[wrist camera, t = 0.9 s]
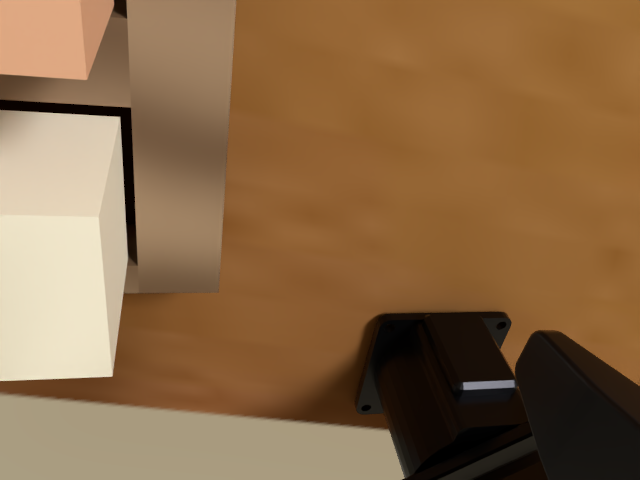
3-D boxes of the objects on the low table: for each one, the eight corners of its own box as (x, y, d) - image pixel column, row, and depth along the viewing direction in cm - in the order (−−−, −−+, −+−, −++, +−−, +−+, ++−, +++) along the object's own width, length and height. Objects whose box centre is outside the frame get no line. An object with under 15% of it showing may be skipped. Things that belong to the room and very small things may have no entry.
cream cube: (127, 258, 19) (112, 376, 15) (-43, 257, 18) (-108, 385, 14) (120, 116, 16) (99, 217, 12) (-83, 105, 15) (-178, 211, 11)
